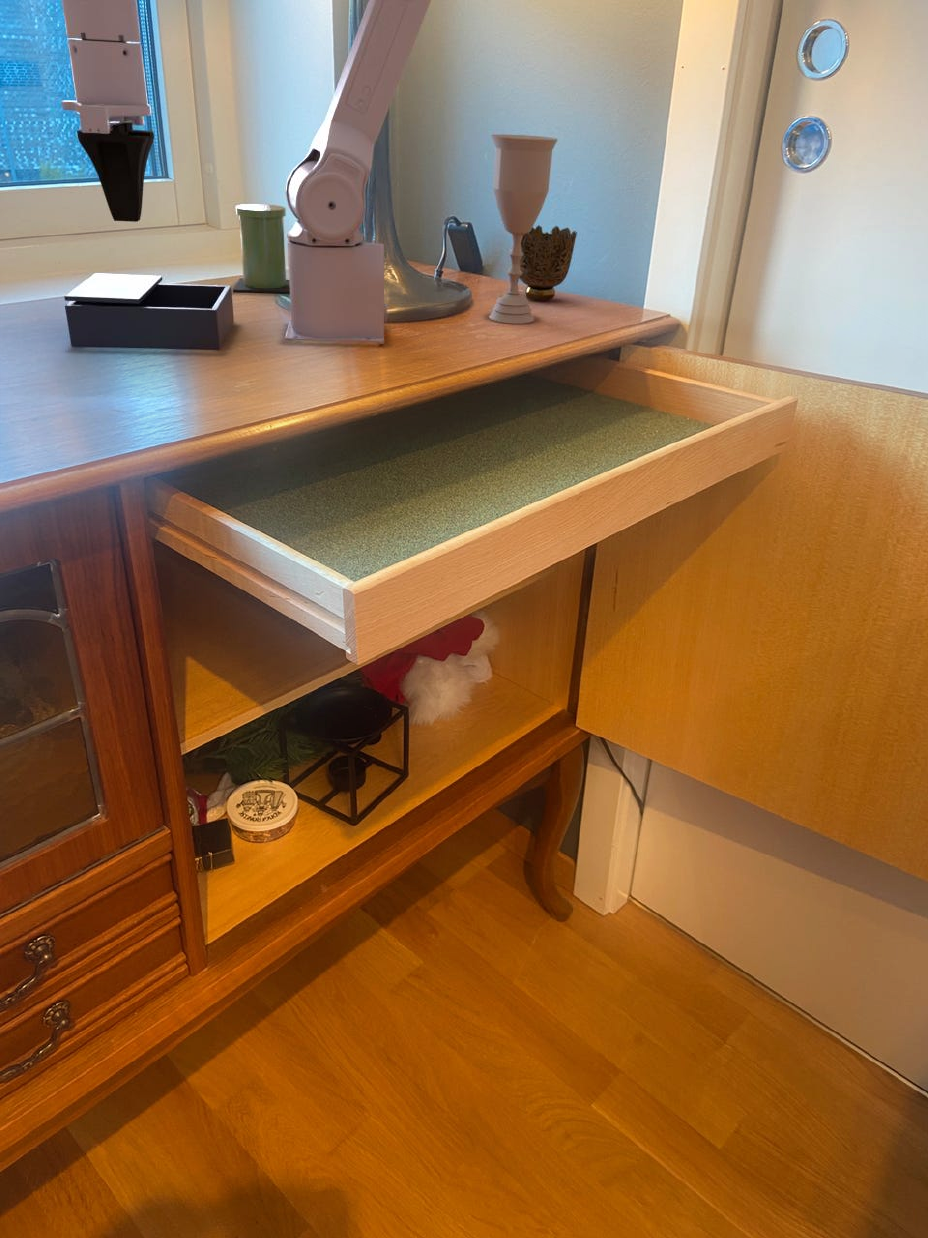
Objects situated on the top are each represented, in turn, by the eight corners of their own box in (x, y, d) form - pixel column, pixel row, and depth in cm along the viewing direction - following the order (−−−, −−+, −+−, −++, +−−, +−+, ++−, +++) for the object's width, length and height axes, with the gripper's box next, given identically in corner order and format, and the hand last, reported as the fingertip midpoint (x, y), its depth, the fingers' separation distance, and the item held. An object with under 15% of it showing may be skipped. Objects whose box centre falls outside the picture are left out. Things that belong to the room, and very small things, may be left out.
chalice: (543, 327, 100) (560, 140, 91) (481, 324, 100) (491, 137, 91) (539, 312, 106) (555, 136, 97) (481, 309, 106) (490, 133, 97)
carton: (72, 351, 83) (64, 305, 81) (101, 323, 92) (95, 281, 90) (220, 355, 84) (216, 309, 82) (234, 326, 94) (231, 285, 92)
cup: (505, 302, 110) (510, 230, 106) (512, 290, 117) (517, 222, 113) (567, 307, 110) (575, 235, 106) (571, 295, 116) (578, 227, 112)
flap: (64, 300, 81) (64, 295, 81) (95, 277, 90) (95, 272, 90) (139, 303, 81) (139, 298, 81) (162, 279, 91) (162, 275, 91)
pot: (290, 280, 113) (287, 205, 109) (287, 289, 108) (283, 211, 104) (243, 279, 112) (238, 203, 108) (238, 288, 108) (232, 209, 103)
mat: (297, 284, 114) (297, 279, 114) (294, 295, 108) (293, 291, 108) (239, 282, 113) (239, 277, 113) (233, 293, 107) (232, 289, 107)
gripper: (77, 41, 82) (100, 208, 89) (26, 35, 69) (58, 230, 76) (159, 46, 83) (176, 211, 89) (123, 41, 70) (146, 233, 77)
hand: (127, 220), depth 83 cm, fingers closed
